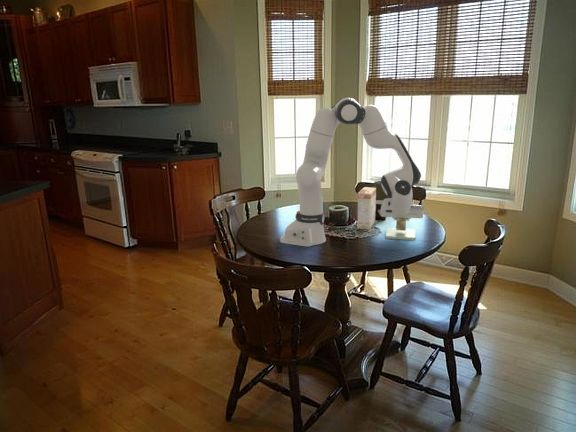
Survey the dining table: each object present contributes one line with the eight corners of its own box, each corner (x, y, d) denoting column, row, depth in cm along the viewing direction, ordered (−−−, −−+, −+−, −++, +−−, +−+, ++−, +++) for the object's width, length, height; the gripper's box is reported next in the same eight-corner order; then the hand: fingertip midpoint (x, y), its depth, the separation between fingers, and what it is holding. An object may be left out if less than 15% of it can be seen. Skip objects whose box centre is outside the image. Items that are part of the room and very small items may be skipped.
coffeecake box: (363, 220, 236) (363, 186, 231) (375, 221, 234) (376, 187, 228) (356, 228, 223) (357, 192, 218) (370, 229, 220) (371, 193, 215)
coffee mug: (389, 218, 240) (390, 201, 237) (384, 222, 233) (385, 204, 230) (370, 215, 246) (371, 199, 243) (364, 219, 239) (365, 202, 236)
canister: (393, 209, 258) (394, 177, 252) (389, 213, 249) (391, 180, 243) (375, 207, 262) (376, 176, 257) (371, 212, 253) (372, 179, 247)
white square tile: (385, 238, 207) (385, 235, 207) (386, 229, 220) (386, 227, 220) (415, 240, 203) (415, 237, 203) (414, 231, 216) (414, 228, 216)
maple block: (396, 230, 209) (396, 212, 207) (396, 227, 213) (397, 210, 211) (405, 230, 208) (406, 213, 206) (405, 227, 212) (406, 210, 210)
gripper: (425, 200, 197) (423, 214, 209) (380, 198, 202) (381, 212, 214) (425, 211, 194) (423, 225, 206) (379, 210, 200) (380, 223, 211)
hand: (401, 219), depth 210 cm, fingers closed on maple block, 4 cm apart
